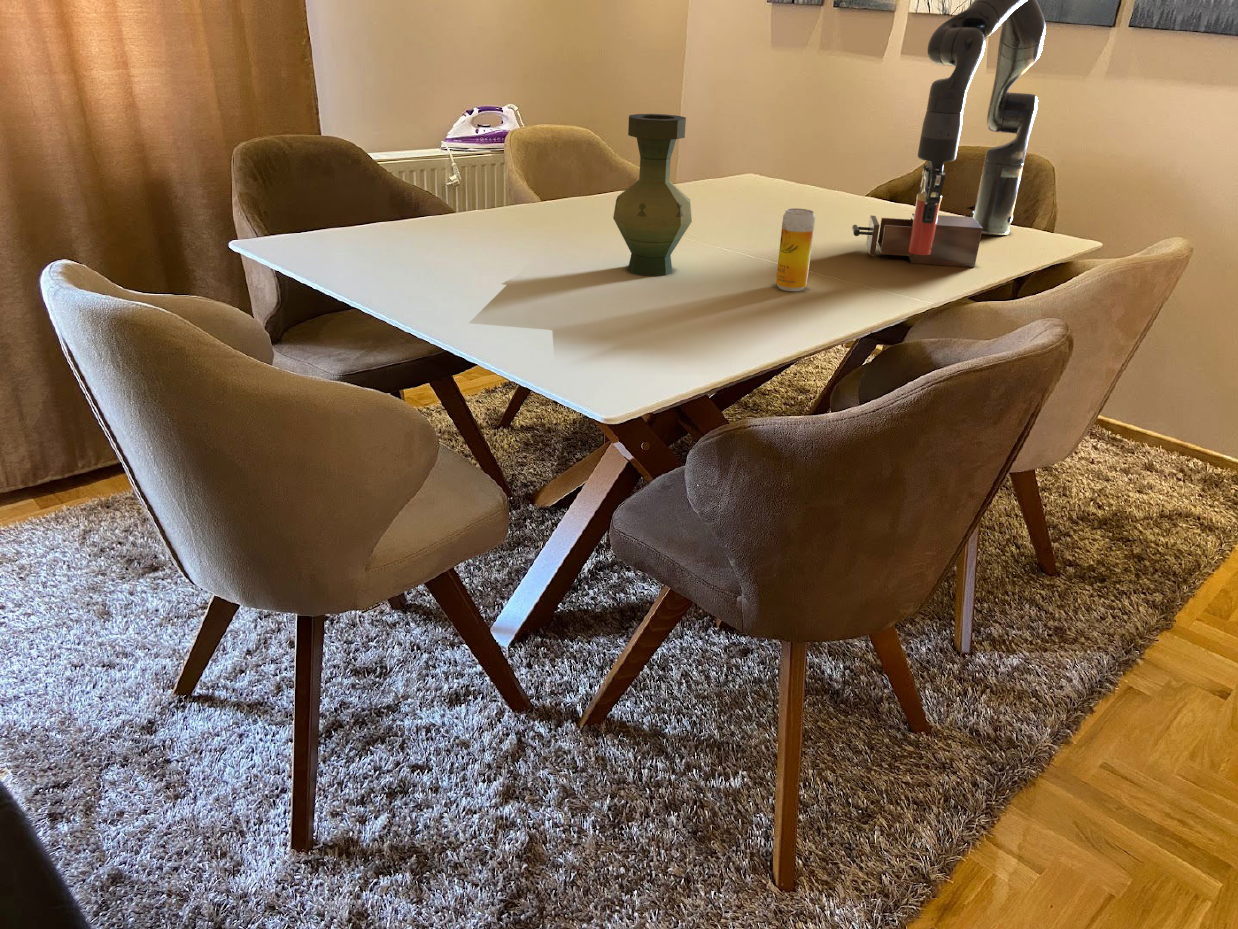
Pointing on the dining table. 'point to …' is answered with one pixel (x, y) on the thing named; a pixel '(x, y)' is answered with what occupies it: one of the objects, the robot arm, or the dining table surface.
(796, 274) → the beer can
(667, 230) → the vase
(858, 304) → the dining table surface
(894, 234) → the drawer
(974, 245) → the cabinet
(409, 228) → the dining table surface
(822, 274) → the dining table surface
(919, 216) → the tea tin
